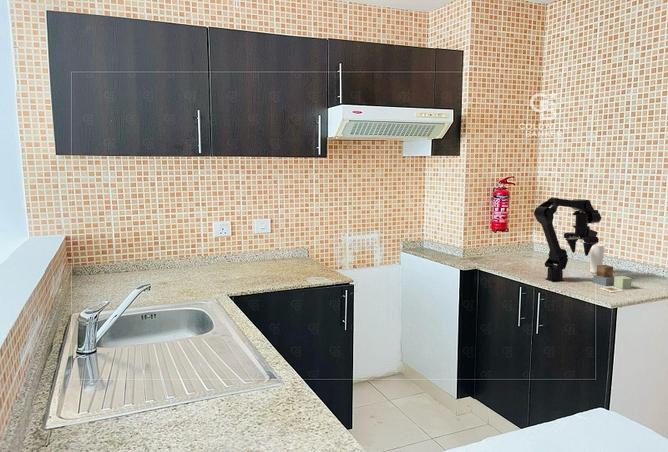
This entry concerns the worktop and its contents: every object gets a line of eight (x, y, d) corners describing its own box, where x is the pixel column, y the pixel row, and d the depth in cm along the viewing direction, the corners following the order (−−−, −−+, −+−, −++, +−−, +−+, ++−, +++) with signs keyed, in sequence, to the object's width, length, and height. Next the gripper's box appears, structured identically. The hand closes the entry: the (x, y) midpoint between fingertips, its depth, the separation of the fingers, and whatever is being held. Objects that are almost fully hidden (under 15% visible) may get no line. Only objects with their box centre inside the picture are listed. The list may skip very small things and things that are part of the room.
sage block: (622, 289, 233) (622, 279, 232) (613, 286, 238) (614, 276, 237) (631, 288, 234) (631, 278, 233) (622, 286, 239) (623, 275, 238)
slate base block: (605, 286, 239) (606, 278, 239) (592, 283, 246) (593, 275, 245) (615, 284, 242) (616, 276, 242) (602, 281, 249) (603, 273, 248)
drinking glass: (598, 270, 271) (599, 243, 269) (605, 273, 264) (607, 245, 262) (586, 271, 271) (587, 243, 269) (592, 273, 264) (594, 246, 262)
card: (611, 292, 228) (611, 291, 228) (599, 288, 234) (599, 287, 234) (623, 291, 229) (623, 290, 229) (611, 287, 236) (611, 286, 236)
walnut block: (603, 277, 240) (604, 267, 240) (596, 275, 245) (596, 265, 245) (612, 276, 241) (613, 266, 241) (605, 274, 246) (605, 264, 246)
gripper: (608, 225, 247) (607, 256, 249) (581, 221, 265) (580, 250, 267) (589, 226, 244) (588, 257, 246) (563, 222, 262) (562, 251, 264)
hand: (579, 254), depth 256 cm, fingers open, 9 cm apart
